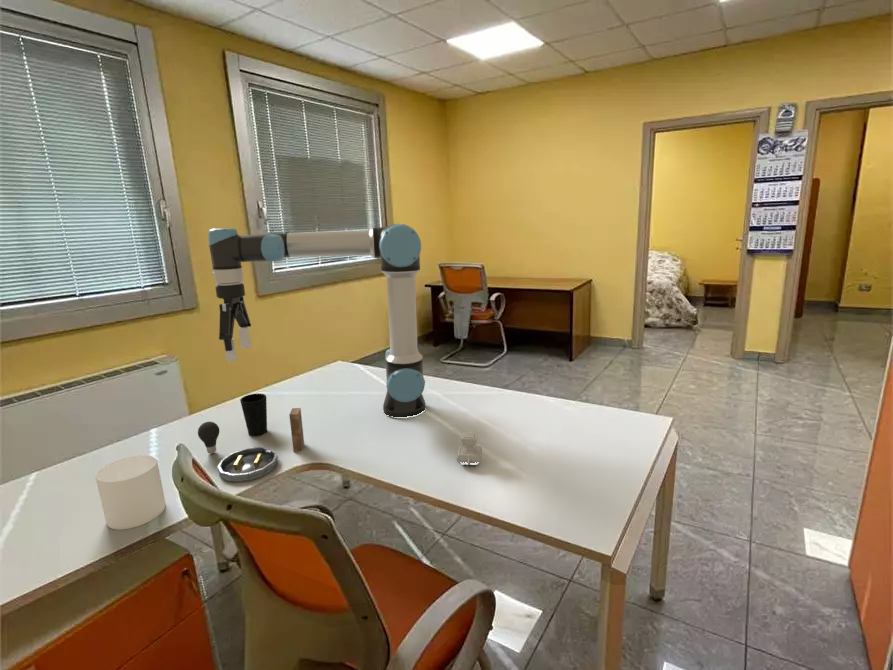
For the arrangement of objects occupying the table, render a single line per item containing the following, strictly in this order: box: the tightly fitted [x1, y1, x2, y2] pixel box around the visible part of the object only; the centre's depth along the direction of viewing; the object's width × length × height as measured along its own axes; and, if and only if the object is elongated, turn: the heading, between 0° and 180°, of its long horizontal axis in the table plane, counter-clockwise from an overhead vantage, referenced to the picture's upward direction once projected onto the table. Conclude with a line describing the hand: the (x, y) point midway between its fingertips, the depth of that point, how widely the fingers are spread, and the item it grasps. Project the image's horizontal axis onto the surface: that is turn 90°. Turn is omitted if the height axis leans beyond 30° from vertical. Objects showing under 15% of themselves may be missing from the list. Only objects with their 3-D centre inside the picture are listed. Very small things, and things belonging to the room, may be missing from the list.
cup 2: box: [239, 393, 268, 437], centre depth 145 cm, size 8×8×12 cm
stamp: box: [456, 432, 483, 465], centre depth 126 cm, size 9×7×8 cm
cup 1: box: [95, 455, 166, 531], centre depth 106 cm, size 12×12×12 cm
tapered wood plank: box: [288, 407, 305, 453], centre depth 135 cm, size 2×4×12 cm, turn 8°
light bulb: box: [197, 421, 220, 455], centre depth 133 cm, size 6×6×10 cm
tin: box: [217, 446, 279, 483], centre depth 126 cm, size 15×15×3 cm
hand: (239, 354), depth 136 cm, fingers open, 13 cm apart
